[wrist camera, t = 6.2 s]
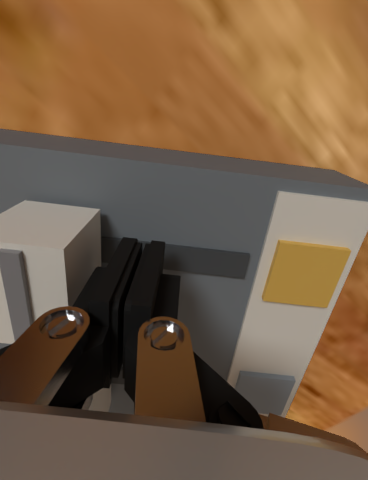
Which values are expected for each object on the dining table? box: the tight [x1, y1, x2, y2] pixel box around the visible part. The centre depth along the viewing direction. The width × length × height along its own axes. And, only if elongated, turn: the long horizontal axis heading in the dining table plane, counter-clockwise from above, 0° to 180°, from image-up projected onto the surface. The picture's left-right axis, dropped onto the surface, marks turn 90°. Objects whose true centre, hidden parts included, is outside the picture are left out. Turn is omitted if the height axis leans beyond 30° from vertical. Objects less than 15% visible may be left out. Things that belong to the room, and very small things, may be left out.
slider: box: [0, 200, 101, 344], centre depth 10 cm, size 3×4×4 cm
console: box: [0, 129, 368, 418], centre depth 17 cm, size 18×24×4 cm
